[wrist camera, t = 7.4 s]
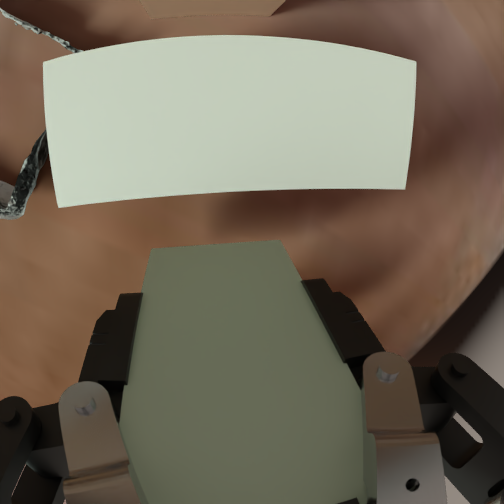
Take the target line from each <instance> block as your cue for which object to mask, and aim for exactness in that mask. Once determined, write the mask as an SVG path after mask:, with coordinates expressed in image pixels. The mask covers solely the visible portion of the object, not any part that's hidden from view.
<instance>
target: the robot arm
mask: <svg viewBox="0 0 504 504" xmlns="http://www.w3.org/2000/svg"><path fill="white" fill-rule="evenodd" d="M301 283H302V285H303V287H304V289H305V291H306V292H307V294H308V296H309V298H310V300H311V302H312V304H313V306H314V308H315V309H316V311H317V313H318V315H319V317H320V319H321V321H322V323H323V325H324V327H325V329H326V330H327V332H328V334H329V336H330V338H331V340H332V342H333V344H334V346H335V348H336V350H337V352H338V354H339V356H340V358H341V360H342V362H343V364H344V363H347V365H348V367H349V369H350V371H351V373H352V375H353V377H354V379H355V380H356V382H357V384H358V386H359V388H360V390H361V401H362V425H363V481H364V483H365V485H366V489H367V504H447V495H446V486H445V478H444V475H445V476H446V477H447V478H448V479H449V480H450V482H451V483H452V484H453V485H454V486H455V487H456V488H457V489H458V490H459V492H460V493H461V494H462V495H463V496H464V497H465V498H466V499H467V500H468V501H469V503H470V504H504V388H502V387H501V386H500V385H499V384H498V383H497V382H496V381H495V380H494V379H492V378H491V377H490V376H489V375H488V374H487V373H486V372H485V371H484V370H482V369H481V368H480V367H479V366H478V365H477V364H476V363H474V362H473V361H472V360H471V359H470V358H468V357H466V356H464V355H462V354H458V353H449V354H446V355H444V356H442V357H441V359H440V360H439V362H438V364H437V366H436V367H411V366H410V364H409V363H408V362H407V361H406V360H405V359H404V358H403V357H401V356H399V355H397V354H394V353H391V352H386V351H385V350H384V348H383V347H382V345H381V344H380V342H379V340H378V339H377V337H376V336H375V334H374V333H373V331H372V330H371V328H370V327H369V325H368V324H367V322H366V321H364V318H363V316H362V315H361V314H360V312H358V309H357V308H356V306H355V305H354V303H353V302H352V300H351V299H349V298H348V297H346V296H345V295H343V294H342V293H341V292H332V290H331V289H330V287H329V286H328V284H327V283H326V281H325V280H324V279H323V278H322V279H312V280H302V281H301ZM142 297H143V293H125V294H120V295H119V298H118V302H117V305H116V308H115V310H106V311H105V312H104V313H103V314H102V315H101V316H100V318H99V319H98V320H97V321H96V324H95V327H94V330H93V335H92V337H91V340H90V345H89V346H88V349H87V353H86V356H85V360H84V363H83V366H82V370H81V374H80V377H79V381H78V383H76V384H74V385H72V386H70V387H69V388H67V389H66V390H65V391H64V392H63V394H62V395H61V397H60V400H59V402H58V403H55V404H51V405H46V406H41V407H36V408H32V407H31V406H30V405H29V403H28V402H27V401H26V400H25V399H23V398H21V397H17V396H11V397H7V398H5V399H3V400H1V401H0V504H63V502H64V500H66V503H67V504H149V503H148V501H147V498H146V496H145V494H144V491H143V489H142V487H141V484H140V482H139V479H138V477H137V474H136V471H135V469H134V466H133V463H132V461H131V458H130V455H129V452H128V450H127V447H126V444H125V441H124V438H123V435H122V432H121V428H120V425H119V422H120V413H121V405H122V398H123V390H124V385H128V378H129V371H130V364H131V358H132V352H133V346H134V340H135V334H136V328H137V323H138V318H139V312H140V307H141V302H142ZM456 412H457V413H458V414H459V415H460V416H461V417H462V418H463V419H464V420H465V421H466V422H468V424H469V425H470V426H471V427H472V428H473V429H474V430H475V431H476V432H477V433H478V434H479V435H480V436H481V437H482V440H483V443H479V442H477V441H475V440H474V438H473V437H471V436H470V434H469V433H467V432H466V430H465V429H464V428H463V427H462V426H461V425H460V424H459V423H458V422H457V421H456V420H455V419H454V418H453V416H454V415H455V414H456ZM25 464H26V466H25ZM24 466H25V468H24ZM23 468H24V471H23V472H22V470H23ZM21 472H22V475H21ZM20 475H21V477H20ZM19 477H20V479H19ZM18 479H19V481H18ZM17 481H18V484H17V486H16V483H17ZM15 486H16V488H15ZM14 488H15V490H14ZM13 490H14V493H13V495H12V492H13ZM11 496H12V497H11ZM337 504H359V502H358V499H357V497H356V498H353V499H350V500H347V501H344V502H340V503H337Z"/></svg>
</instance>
